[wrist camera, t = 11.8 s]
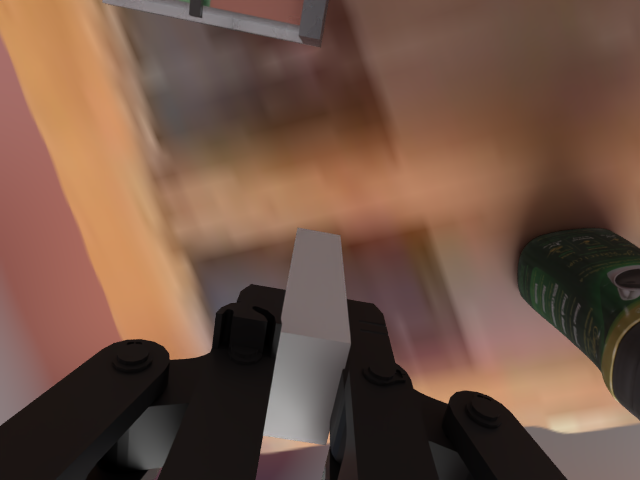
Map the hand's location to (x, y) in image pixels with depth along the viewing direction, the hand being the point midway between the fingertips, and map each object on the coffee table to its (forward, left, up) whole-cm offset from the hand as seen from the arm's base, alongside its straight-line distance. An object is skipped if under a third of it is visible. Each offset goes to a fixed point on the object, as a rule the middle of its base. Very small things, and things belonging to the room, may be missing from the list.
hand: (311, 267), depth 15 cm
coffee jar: (+6, +25, -25) cm, 36 cm away
